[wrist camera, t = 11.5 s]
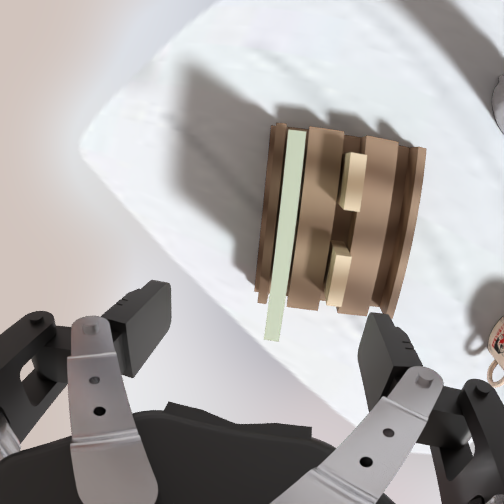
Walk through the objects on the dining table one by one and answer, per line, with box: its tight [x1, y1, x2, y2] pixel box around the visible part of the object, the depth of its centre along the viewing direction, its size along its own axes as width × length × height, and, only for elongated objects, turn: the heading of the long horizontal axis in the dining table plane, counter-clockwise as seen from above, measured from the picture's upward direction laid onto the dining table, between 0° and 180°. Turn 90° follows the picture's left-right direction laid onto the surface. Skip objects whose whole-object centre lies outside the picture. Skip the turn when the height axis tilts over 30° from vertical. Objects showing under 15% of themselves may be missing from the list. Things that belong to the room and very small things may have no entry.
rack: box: [254, 123, 426, 319], centre depth 34 cm, size 20×18×4 cm
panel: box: [264, 130, 306, 342], centre depth 28 cm, size 16×1×14 cm, turn 175°
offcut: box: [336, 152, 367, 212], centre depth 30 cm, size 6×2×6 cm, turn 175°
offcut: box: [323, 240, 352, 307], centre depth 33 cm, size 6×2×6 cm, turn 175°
